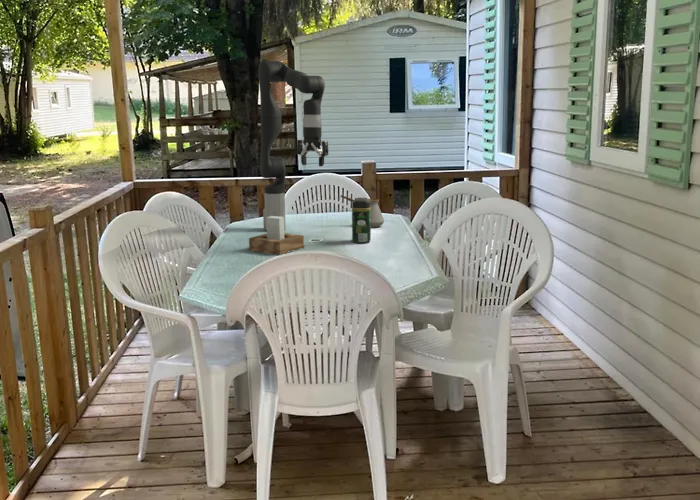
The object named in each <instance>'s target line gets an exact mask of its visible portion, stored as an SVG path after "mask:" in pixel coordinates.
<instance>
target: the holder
mask: <svg viewBox="0 0 700 500" xmlns="http://www.w3.org/2000/svg"><path fill="white" fill-rule="evenodd" d="M304 243H305V242H304V235H302V234H293V233H286V232H284V239H281V240H274V239H267V233H264V234H260V235H255V236H252V237H249V238H248V245H249V246H248V248H247V249H248V251H251V252H258V253H264V254H269V255H270V254H271V255H276V254H277V256H281V255H280V254H282V255H284V254H283V253H285V254H288V253H287V252H288V251H292V250H295V251H298V250H297V249H299V250H301V249H300V248H302V249H305V248H304V247H305V246H306V245H305V244H304ZM292 252H293V251H292Z"/></svg>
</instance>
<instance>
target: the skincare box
mask: <svg viewBox="0 0 700 500" xmlns="http://www.w3.org/2000/svg"><path fill="white" fill-rule="evenodd" d="M266 224H267V230H266V234H267V239H274V240H281V239H284V233H285V230H284V217H278V216H270V217H266Z"/></svg>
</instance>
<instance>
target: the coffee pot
mask: <svg viewBox="0 0 700 500" xmlns="http://www.w3.org/2000/svg"><path fill="white" fill-rule="evenodd" d="M341 198H343V199H344V200H347V201H349V202H353V200H354V199H353V198H351V197H347V196H344V195H342V194H340V195H339V199H338V200H340V199H341ZM367 199H368V200H370V202H371V203H370V204H371V229H376V228H380V227H381V226H382V225H383V224H384V222H385V218H384V216H383V214H382V211H381V209H380V206H379V201H380V199H378V198H367Z"/></svg>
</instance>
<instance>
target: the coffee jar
mask: <svg viewBox="0 0 700 500" xmlns="http://www.w3.org/2000/svg"><path fill="white" fill-rule="evenodd" d="M368 199H369V198H367V197H357V198H356V199H353V202H352V201H351V202H352V203H351V228H352V229H351V230H352V231H351V234H352V236H351V240H352V241H351V242H353V243H357V244H366V243H367V244H368V243H370V242H371V237H372V236H371V235H372V233H371V232H372V231H371V229H372V228H371V204H370V203H371V202H370V200H368Z"/></svg>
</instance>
